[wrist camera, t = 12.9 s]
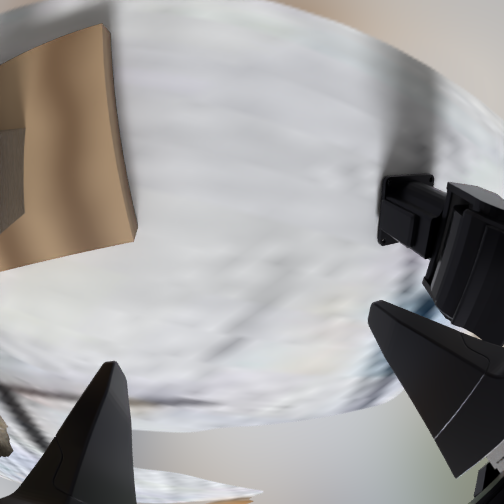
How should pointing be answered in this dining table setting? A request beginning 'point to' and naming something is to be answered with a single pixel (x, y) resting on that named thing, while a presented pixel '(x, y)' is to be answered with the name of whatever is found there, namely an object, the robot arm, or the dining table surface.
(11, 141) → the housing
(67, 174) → the walnut stand
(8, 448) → the stone bowl
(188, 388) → the dining table surface
